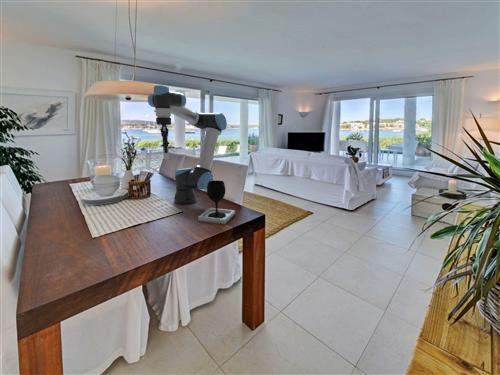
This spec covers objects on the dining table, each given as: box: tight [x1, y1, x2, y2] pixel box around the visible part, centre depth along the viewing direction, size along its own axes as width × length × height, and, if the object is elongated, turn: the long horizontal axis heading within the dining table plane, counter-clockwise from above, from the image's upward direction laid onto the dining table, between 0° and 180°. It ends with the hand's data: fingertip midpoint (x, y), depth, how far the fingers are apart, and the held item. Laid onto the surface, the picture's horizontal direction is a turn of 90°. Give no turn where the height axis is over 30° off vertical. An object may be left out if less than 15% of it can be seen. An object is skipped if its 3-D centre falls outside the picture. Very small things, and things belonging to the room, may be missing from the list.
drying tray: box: [197, 207, 236, 225], centre depth 143 cm, size 16×16×2 cm
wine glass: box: [206, 180, 226, 218], centre depth 141 cm, size 10×10×20 cm
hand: (166, 157), depth 136 cm, fingers open, 13 cm apart
